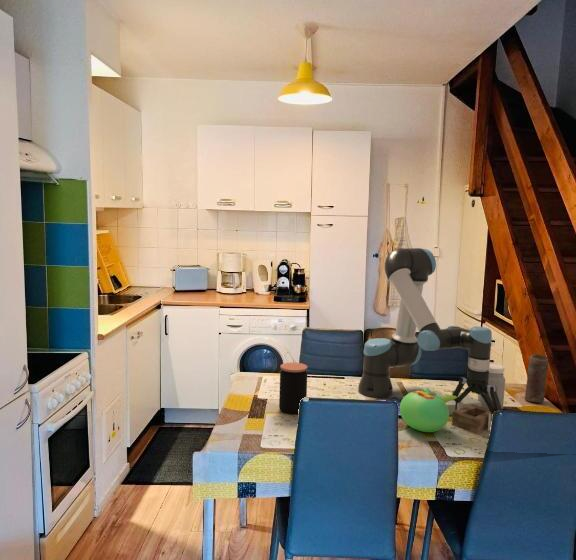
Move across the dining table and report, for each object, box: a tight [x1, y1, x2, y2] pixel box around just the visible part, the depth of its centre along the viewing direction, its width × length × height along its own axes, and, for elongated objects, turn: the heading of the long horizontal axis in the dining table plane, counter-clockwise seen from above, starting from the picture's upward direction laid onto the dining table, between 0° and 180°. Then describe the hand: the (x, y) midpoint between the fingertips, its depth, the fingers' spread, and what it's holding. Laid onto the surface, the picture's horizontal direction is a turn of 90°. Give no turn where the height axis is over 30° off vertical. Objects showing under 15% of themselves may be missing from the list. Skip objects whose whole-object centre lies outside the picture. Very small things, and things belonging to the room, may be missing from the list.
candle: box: [524, 353, 549, 404], centre depth 214 cm, size 8×7×20 cm
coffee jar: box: [278, 362, 308, 416], centre depth 196 cm, size 11×11×18 cm
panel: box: [446, 390, 481, 416], centre depth 203 cm, size 18×10×8 cm, turn 104°
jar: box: [477, 362, 506, 410], centre depth 204 cm, size 10×10×18 cm
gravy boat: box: [399, 387, 457, 433], centre depth 181 cm, size 18×17×15 cm
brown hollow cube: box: [451, 404, 491, 435], centre depth 187 cm, size 14×10×5 cm
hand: (474, 424), depth 187 cm, fingers open, 12 cm apart
